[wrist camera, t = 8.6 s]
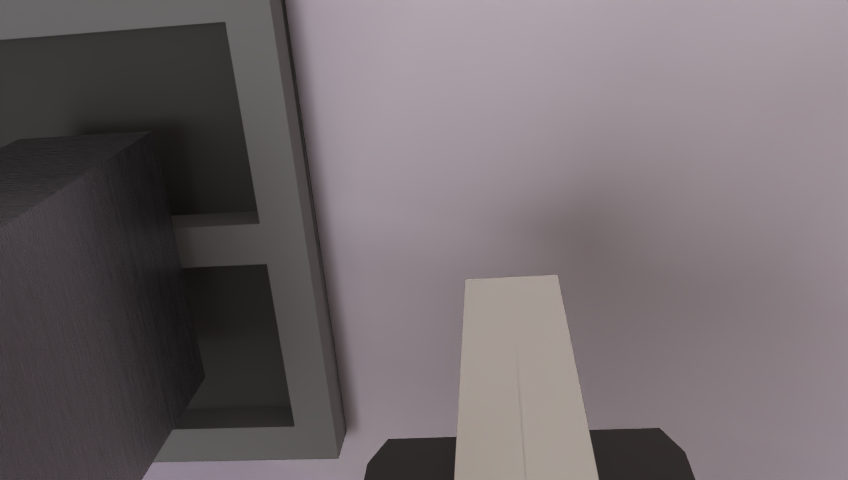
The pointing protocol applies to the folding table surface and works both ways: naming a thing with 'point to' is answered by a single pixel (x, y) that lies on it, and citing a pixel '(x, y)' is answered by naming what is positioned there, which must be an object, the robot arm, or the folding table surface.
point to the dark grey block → (90, 309)
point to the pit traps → (204, 195)
